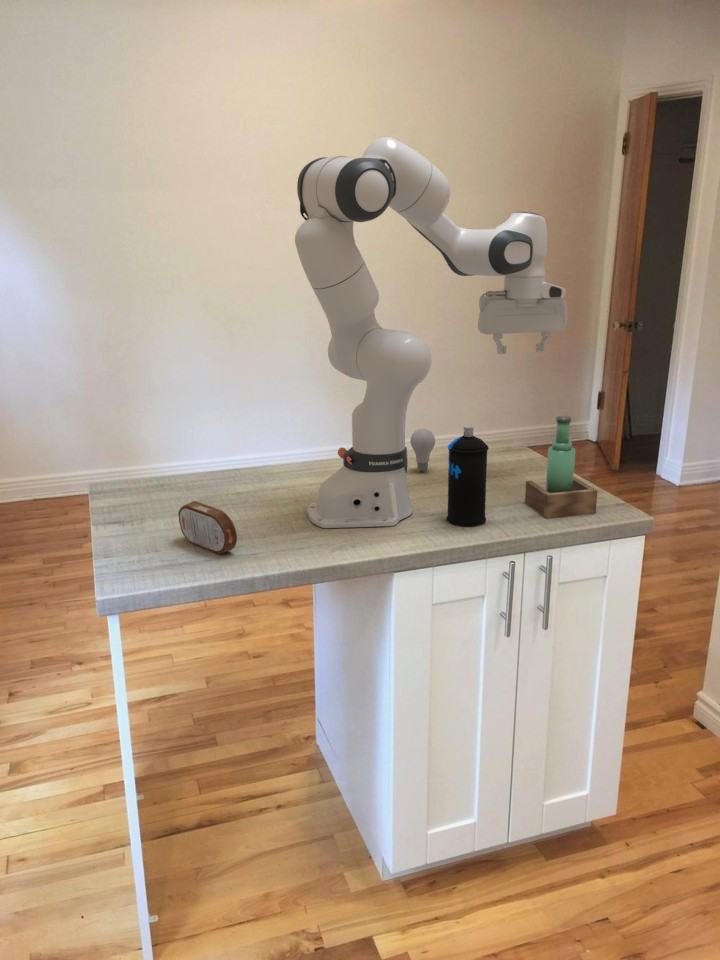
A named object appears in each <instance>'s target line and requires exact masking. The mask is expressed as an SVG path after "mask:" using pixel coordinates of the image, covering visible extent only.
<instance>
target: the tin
mask: <svg viewBox="0 0 720 960" xmlns="http://www.w3.org/2000/svg"><path fill="white" fill-rule="evenodd" d="M178 522H179V527H180V528H179V529H180V530H181V533H182V534H183V536H184V537H185V539H186V540H187V542H189V543H191V544H192V543H193V545H194V544H195V545H194V546H198V547H199V546H200V548H202V547H203V548H202V549H204V548H205V550H206V551H210V552H211V551H212V553H214V554H217V555H220V554H224V553H226V552H228V551H232V550H233V549H235V547H236V545H237V542H238V541H237V540H238V535H237V530H236V528H235V527H236V526H235V524H234V522H233V520H232V518H231V517H230V516H229V515H228V514H227V513H226V512H225V511H223V510H222V509H220V508H216V507H214V506H211V505H208V504H205V503H202V502H200V501H198V500H194V501H191V502H189V503H187V504H184V505H183V506H181V507H180V509H179V511H178Z"/></svg>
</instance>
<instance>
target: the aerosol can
mask: <svg viewBox="0 0 720 960" xmlns="http://www.w3.org/2000/svg"><path fill="white" fill-rule="evenodd" d="M447 450H448V479H447V481H448V482H447V516H446V518H445V519H446V521H447V522H448V523H449V524H451V525H452V526H457V527H465V528H467V527H469V528H470V527H471V528H472V527H478V525H479V526H481V525H483V524H485V523H486V521H487V518H486V501H487V499H486V498H487V468H488V467H487V465H488V450H489V445H488V444H486V442H485V441H484V440H483V439H481V438H480V437H476V436H474V426H473V425H463V435H462V436H459V437H457V438H455V439H453V441H451V443H448V445H447Z"/></svg>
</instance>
